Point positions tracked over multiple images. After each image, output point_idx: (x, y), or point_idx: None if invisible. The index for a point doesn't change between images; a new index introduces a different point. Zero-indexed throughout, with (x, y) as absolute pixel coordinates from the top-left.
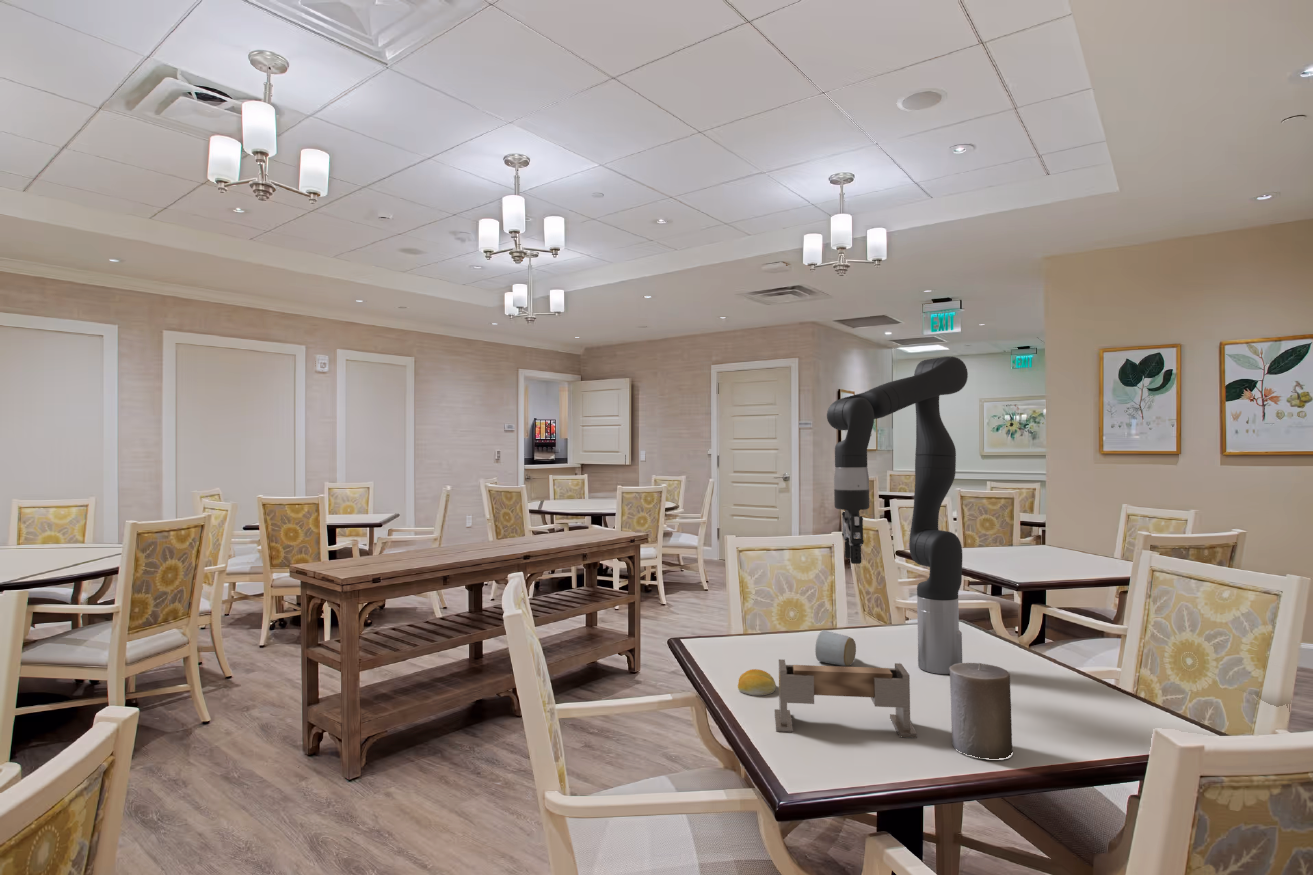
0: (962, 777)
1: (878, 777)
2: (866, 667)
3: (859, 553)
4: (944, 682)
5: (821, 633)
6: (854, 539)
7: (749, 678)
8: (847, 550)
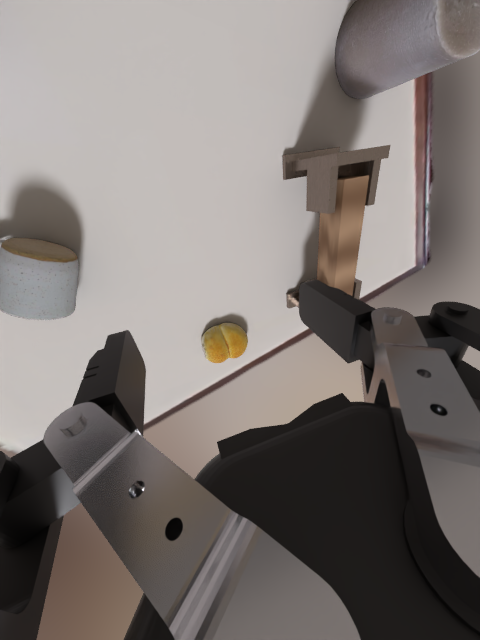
0: (419, 108)
1: (406, 200)
2: (341, 216)
3: (359, 300)
4: (53, 15)
5: (44, 315)
6: (461, 358)
7: (242, 350)
8: (141, 383)
